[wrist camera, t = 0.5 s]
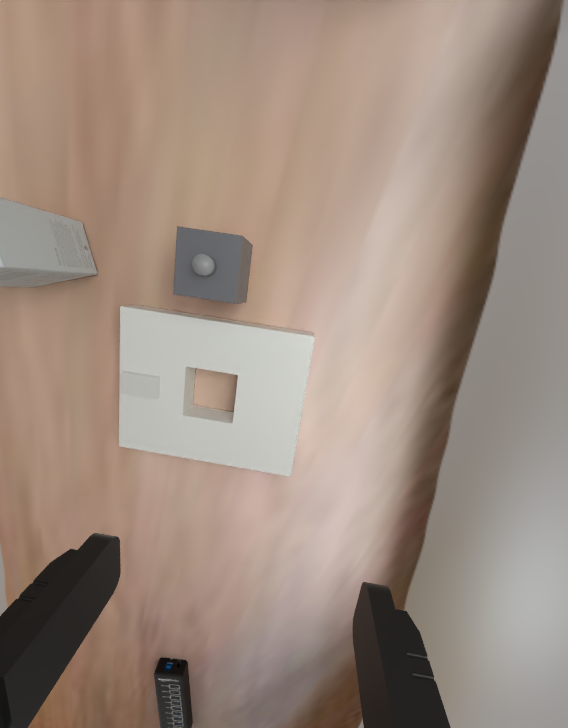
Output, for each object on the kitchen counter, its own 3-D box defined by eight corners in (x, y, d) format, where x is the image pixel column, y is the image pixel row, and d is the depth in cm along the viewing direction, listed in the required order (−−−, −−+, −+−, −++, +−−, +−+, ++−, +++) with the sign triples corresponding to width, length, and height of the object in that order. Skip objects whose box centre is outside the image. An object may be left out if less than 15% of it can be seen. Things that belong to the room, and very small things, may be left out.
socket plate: (136, 305, 33) (116, 306, 29) (314, 333, 32) (314, 337, 29) (133, 434, 37) (115, 448, 33) (291, 461, 36) (290, 479, 32)
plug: (206, 241, 31) (170, 223, 23) (257, 248, 30) (239, 232, 22) (202, 294, 32) (167, 294, 24) (250, 301, 32) (231, 304, 24)
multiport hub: (168, 717, 49) (161, 738, 47) (160, 654, 46) (153, 672, 44) (193, 720, 49) (188, 741, 47) (188, 657, 46) (182, 675, 44)
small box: (84, 221, 31) (-25, 186, 21) (99, 275, 32) (4, 267, 22) (17, 236, 32) (-118, 209, 22) (35, 288, 33) (-85, 285, 23)
